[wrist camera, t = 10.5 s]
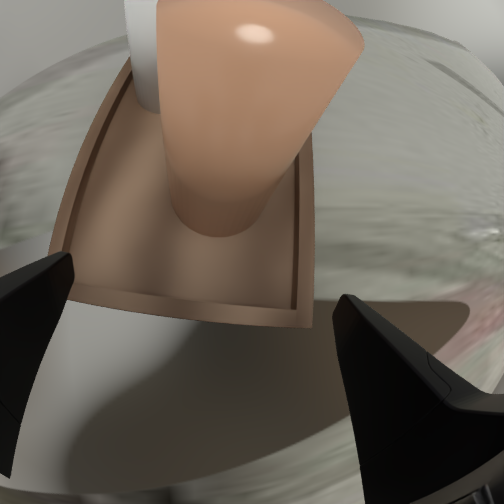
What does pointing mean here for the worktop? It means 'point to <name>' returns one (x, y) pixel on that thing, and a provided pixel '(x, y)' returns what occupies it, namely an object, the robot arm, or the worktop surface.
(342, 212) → the worktop surface
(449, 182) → the worktop surface
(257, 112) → the peach tapered cylinder
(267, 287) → the walnut tray
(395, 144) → the worktop surface
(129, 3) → the white rounded cylinder
